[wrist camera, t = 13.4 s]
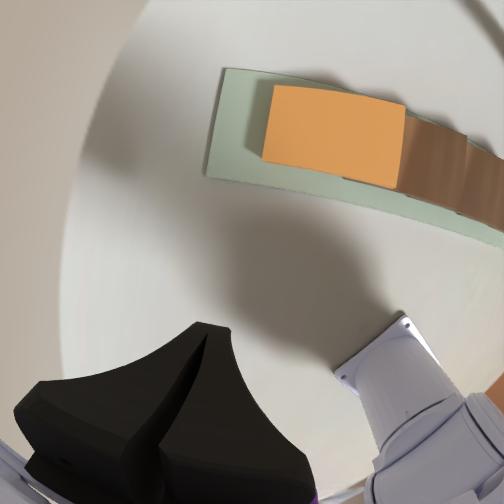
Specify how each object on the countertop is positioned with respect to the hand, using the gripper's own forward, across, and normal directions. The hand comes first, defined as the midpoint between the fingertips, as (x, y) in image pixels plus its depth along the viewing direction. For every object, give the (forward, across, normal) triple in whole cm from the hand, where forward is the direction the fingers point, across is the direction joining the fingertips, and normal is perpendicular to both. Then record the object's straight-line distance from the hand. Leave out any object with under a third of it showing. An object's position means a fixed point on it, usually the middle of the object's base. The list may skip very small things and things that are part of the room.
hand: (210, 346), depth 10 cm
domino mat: (+10, -14, -10) cm, 20 cm away
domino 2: (+9, -11, -10) cm, 17 cm away
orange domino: (+9, -1, -10) cm, 13 cm away
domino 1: (+9, -6, -10) cm, 14 cm away
